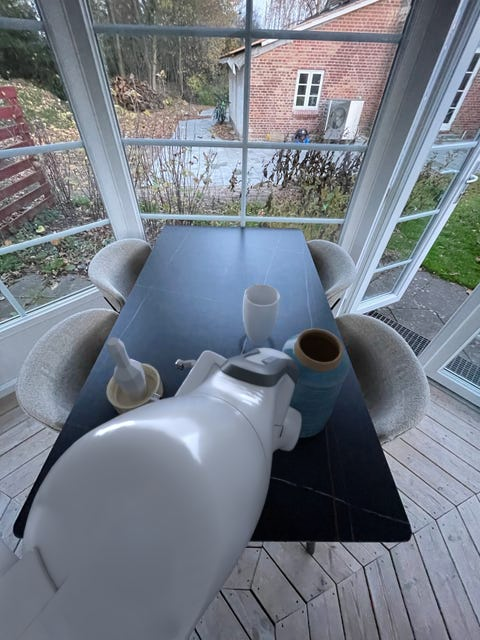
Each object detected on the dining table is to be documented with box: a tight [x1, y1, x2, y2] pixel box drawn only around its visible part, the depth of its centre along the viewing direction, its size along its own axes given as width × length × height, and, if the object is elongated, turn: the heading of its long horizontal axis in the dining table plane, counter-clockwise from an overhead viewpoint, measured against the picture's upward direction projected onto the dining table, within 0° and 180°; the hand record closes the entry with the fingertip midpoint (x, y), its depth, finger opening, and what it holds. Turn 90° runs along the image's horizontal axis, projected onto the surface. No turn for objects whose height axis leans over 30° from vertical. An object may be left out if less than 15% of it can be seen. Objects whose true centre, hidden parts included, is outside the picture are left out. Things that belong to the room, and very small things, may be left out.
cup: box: [242, 283, 281, 346], centre depth 78 cm, size 10×10×22 cm
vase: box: [281, 328, 351, 439], centre depth 61 cm, size 16×16×27 cm
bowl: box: [106, 362, 164, 415], centre depth 71 cm, size 13×13×6 cm
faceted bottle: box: [106, 336, 147, 401], centre depth 64 cm, size 6×6×22 cm
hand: (165, 379), depth 58 cm, fingers open, 8 cm apart
